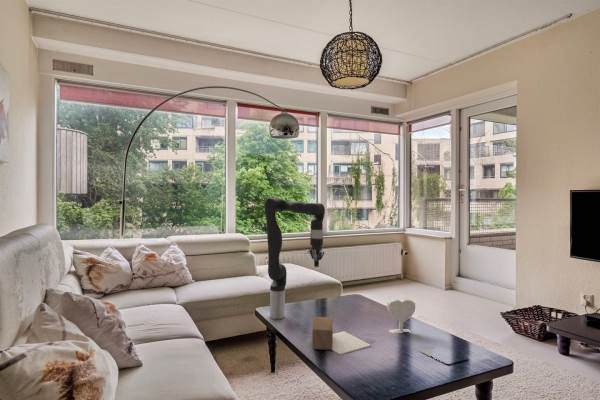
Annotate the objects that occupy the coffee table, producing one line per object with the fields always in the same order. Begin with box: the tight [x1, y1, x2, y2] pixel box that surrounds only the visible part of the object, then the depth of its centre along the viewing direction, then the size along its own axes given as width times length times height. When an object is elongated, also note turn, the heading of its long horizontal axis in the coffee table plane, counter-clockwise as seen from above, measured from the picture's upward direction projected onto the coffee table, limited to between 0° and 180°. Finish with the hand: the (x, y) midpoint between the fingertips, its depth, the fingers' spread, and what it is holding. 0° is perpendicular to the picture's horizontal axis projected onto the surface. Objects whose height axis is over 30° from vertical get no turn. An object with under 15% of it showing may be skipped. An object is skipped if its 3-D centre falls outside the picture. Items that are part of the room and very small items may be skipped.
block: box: [311, 316, 334, 351], centre depth 189 cm, size 10×10×20 cm
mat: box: [330, 330, 372, 356], centre depth 190 cm, size 22×20×1 cm
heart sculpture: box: [386, 298, 416, 334], centre depth 206 cm, size 16×5×18 cm, turn 96°
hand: (316, 266), depth 213 cm, fingers closed
